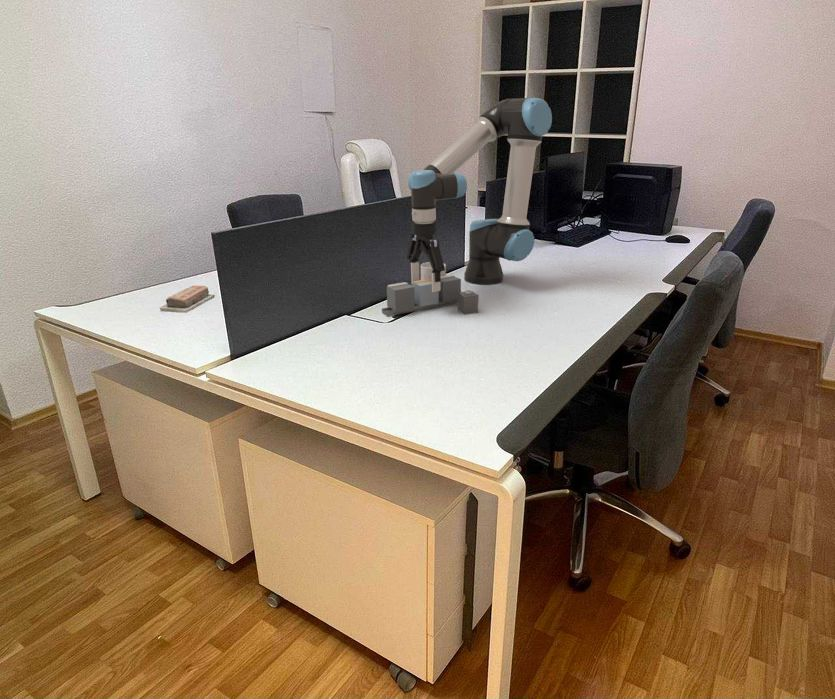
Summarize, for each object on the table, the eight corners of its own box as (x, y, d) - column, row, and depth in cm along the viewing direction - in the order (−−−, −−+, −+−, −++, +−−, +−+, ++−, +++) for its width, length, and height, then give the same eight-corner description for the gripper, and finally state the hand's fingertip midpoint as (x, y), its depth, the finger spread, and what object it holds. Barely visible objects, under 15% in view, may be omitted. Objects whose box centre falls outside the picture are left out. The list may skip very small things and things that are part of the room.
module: (429, 298, 192) (429, 278, 189) (438, 303, 187) (438, 282, 184) (411, 301, 189) (411, 281, 186) (420, 306, 184) (420, 285, 181)
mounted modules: (451, 294, 196) (451, 274, 193) (460, 298, 191) (460, 278, 188) (387, 306, 185) (386, 284, 182) (395, 311, 180) (395, 289, 177)
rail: (458, 298, 197) (458, 294, 196) (464, 301, 194) (465, 297, 193) (381, 313, 183) (381, 308, 183) (387, 316, 180) (387, 311, 180)
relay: (471, 308, 187) (471, 288, 185) (477, 312, 183) (478, 292, 180) (457, 309, 186) (458, 290, 183) (463, 314, 181) (464, 294, 179)
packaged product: (188, 283, 203) (213, 285, 201) (190, 296, 204) (215, 298, 202) (157, 298, 186) (184, 300, 184) (159, 312, 188) (186, 314, 186)
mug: (448, 298, 198) (448, 267, 193) (423, 299, 196) (423, 268, 192) (440, 288, 209) (440, 259, 204) (417, 290, 207) (416, 260, 203)
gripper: (395, 217, 186) (398, 279, 194) (434, 229, 166) (435, 297, 174) (415, 214, 189) (416, 275, 198) (455, 226, 169) (455, 293, 178)
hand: (425, 286), depth 186 cm, fingers open, 13 cm apart
